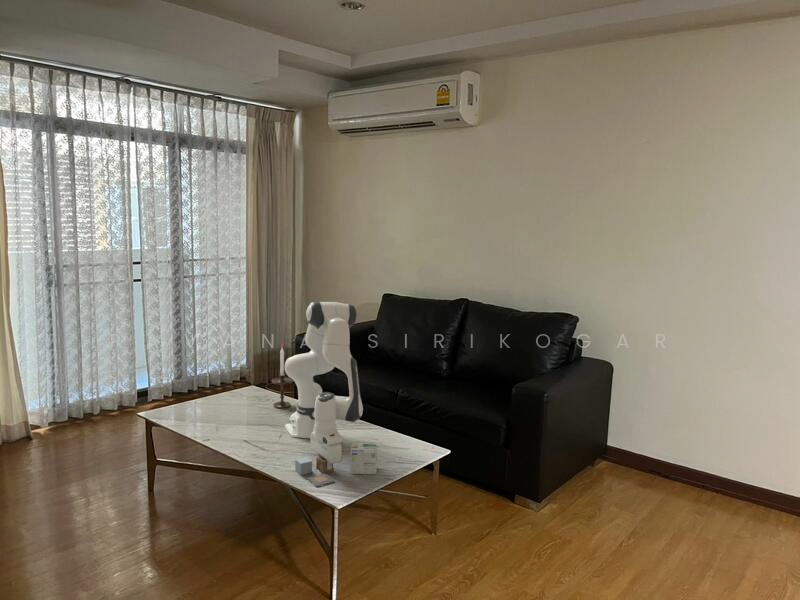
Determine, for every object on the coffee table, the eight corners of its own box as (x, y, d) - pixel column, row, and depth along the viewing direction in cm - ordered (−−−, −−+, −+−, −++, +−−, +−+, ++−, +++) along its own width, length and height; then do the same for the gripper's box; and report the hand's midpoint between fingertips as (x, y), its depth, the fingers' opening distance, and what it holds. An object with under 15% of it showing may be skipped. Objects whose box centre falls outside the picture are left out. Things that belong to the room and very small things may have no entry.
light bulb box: (376, 467, 240) (377, 442, 239) (376, 474, 234) (377, 449, 232) (350, 467, 240) (351, 442, 238) (350, 474, 233) (350, 448, 232)
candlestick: (287, 401, 320) (287, 339, 315) (295, 407, 311) (295, 343, 306) (268, 404, 314) (268, 341, 309) (276, 410, 305) (275, 345, 300)
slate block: (295, 471, 235) (295, 459, 234) (306, 468, 238) (306, 456, 237) (300, 475, 231) (300, 463, 230) (312, 472, 234) (312, 460, 233)
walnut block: (316, 469, 237) (316, 457, 236) (327, 466, 240) (327, 454, 239) (322, 473, 233) (322, 461, 232) (333, 470, 236) (333, 459, 235)
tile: (307, 479, 228) (307, 477, 227) (325, 474, 232) (325, 472, 232) (316, 487, 221) (316, 485, 221) (334, 482, 226) (334, 480, 226)
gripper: (306, 426, 241) (306, 458, 243) (330, 443, 224) (330, 477, 226) (320, 423, 245) (319, 455, 247) (344, 439, 228) (344, 473, 230)
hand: (324, 465), depth 236 cm, fingers closed on walnut block, 5 cm apart
